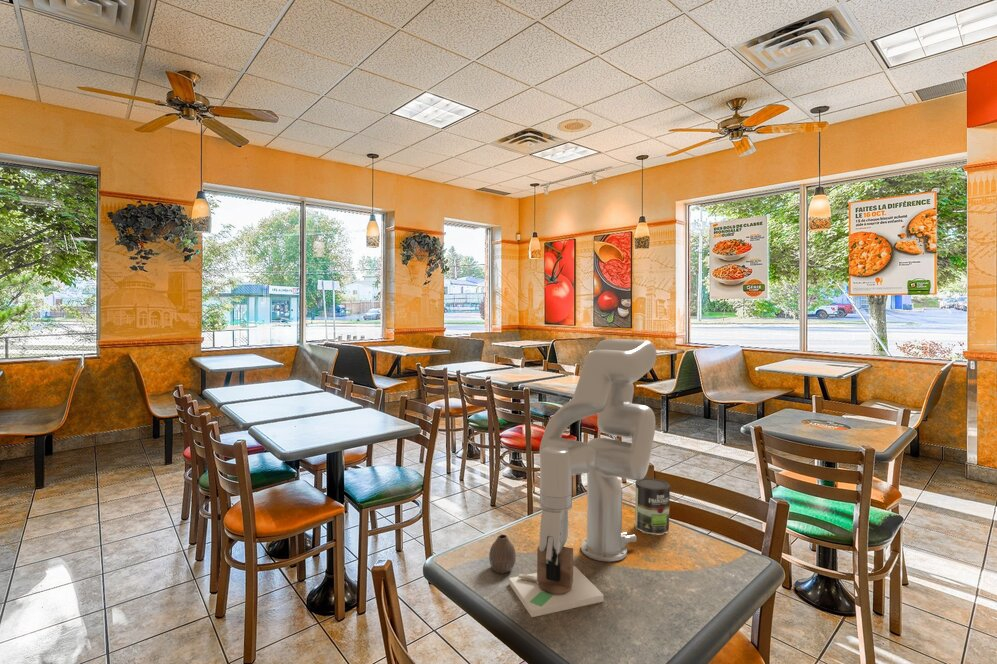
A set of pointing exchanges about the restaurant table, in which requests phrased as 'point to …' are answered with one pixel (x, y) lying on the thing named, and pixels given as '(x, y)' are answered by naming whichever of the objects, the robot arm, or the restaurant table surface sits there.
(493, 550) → the vase
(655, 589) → the restaurant table surface
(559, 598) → the dial board
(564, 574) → the dial knob
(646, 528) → the coffee can
